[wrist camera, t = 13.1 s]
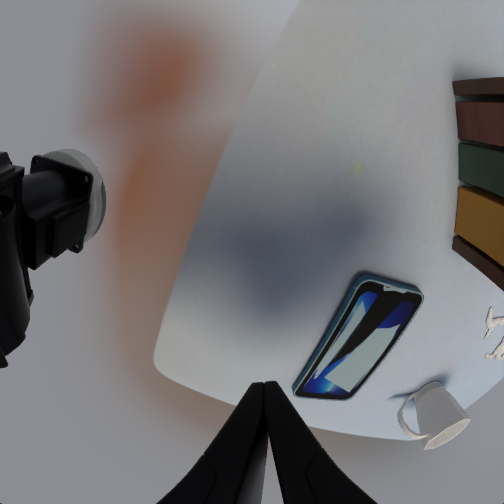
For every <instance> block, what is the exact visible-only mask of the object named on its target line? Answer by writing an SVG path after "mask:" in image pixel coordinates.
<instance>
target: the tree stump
mask: <svg viewBox="0 0 504 504" xmlns="http://www.w3.org/2000/svg"><path fill="white" fill-rule="evenodd" d="M498 324H499V325H502V326H504V317H499V318H496V319H492V307H491V308H490V310H489V312H488V316H487V319H486V325H487V327H488V328H489V331H488V332H487V334H486V336H485V338H484V339H487V337H488V336H489V334H490V333H491V332H492V331H493V329H494V326H495V325H498ZM503 350H504V338H503V340H502V342H501V343H500V345H498V347H497V348H496V349H495V351H494V352H493V354H491V355H488V354H486V355H485V356H486V359H491V358H493V357H494V356H495V355H496V360H497V361H500V360H501V359H503V357H504V355H503V356H501V355H502V352H503Z"/></svg>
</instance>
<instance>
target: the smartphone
mask: <svg viewBox="0 0 504 504" xmlns="http://www.w3.org/2000/svg"><path fill="white" fill-rule="evenodd" d="M423 301H424V295H423V294H422V292H421V291H420V290H419V289H417V288H414V287H411V286H407V285H404V284H400V283H397V282H393V281H390V280H386V279H383V278H379V277H376V276H372V275H363V276H361V277H359V278H358V279H357V280H356V281H355V282H354V284H353V286H352V288H351V290H350V292H349V294H348V296H347V297H346V299H345V301H344V303H343V305H342V307H341V309H340V310H339V312H338V314H337V316H336V318H335V319H334V321H333V323H332V325H331V326H330V328H329V330H328V332H327V333H326V335H325V337H324V339H323V340H322V342H321V344H320V345H319V347H318V349H317V350H316V352H315V353H314V355H313V357H312V358H311V360H310V361H309V363H308V365H307V366H306V368H305V369H304V371H303V372H302V374H301V376H300V377H299V379H298V380H297V382H296V383H295V385H294V386H293V395H294V396H295V397H298V398H307V399H319V400H334V401H346V400H349V399H351V398H352V397H354V396H355V394H356V393H357V392H358V391H359V390H360V389H361V388H362V386H363V385H364V384H365V383H366V382H367V380H368V379H369V378H370V377H371V376H372V374H373V373H374V372H375V371H376V369H377V368H378V367H379V366H380V364H381V363H382V362H383V360H384V359H385V358H386V356H387V355H388V354H389V352H390V351H391V350H392V348H393V347H394V346H395V344H396V343H397V341H398V340H399V339H400V337H401V336H402V334H403V333H404V331H405V330H406V328H407V327H408V325H409V324H410V322H411V321H412V319H413V318H414V316H415V315H416V313H417V311H418V310H419V308H420V307H421V305H422V303H423Z"/></svg>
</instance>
